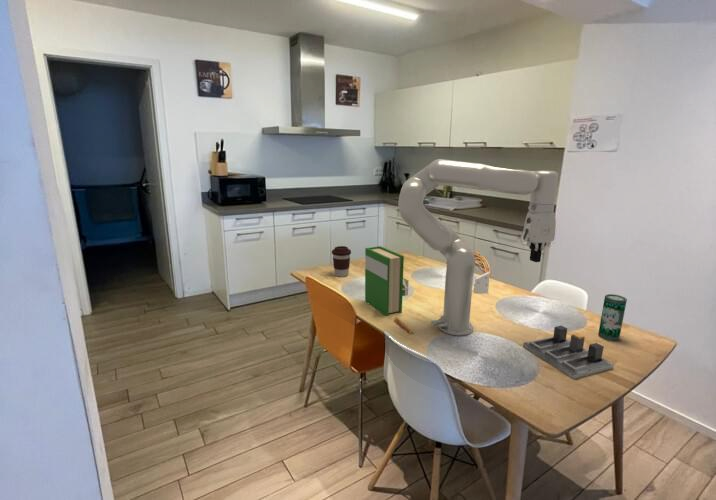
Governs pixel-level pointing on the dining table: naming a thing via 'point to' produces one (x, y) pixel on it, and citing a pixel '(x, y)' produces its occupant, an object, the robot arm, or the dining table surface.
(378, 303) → the hardback book
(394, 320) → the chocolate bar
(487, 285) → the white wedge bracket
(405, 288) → the architectural model
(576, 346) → the block
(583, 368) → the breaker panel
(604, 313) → the can
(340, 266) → the coffee cup
